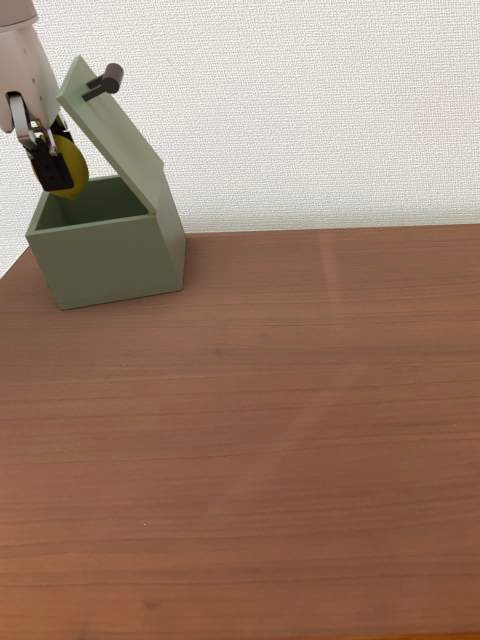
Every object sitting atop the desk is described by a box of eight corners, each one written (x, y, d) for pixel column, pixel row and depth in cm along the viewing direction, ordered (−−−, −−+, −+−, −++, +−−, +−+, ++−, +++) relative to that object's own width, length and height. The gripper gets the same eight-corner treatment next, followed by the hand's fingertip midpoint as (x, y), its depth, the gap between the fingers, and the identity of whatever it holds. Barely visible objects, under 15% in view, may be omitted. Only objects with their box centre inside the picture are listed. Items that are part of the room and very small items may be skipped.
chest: (60, 310, 97) (24, 235, 91) (76, 254, 107) (45, 184, 101) (182, 290, 100) (155, 216, 94) (186, 238, 110) (162, 167, 104)
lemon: (37, 206, 95) (6, 139, 90) (74, 186, 99) (47, 121, 94) (73, 213, 94) (44, 145, 88) (109, 192, 98) (83, 126, 92)
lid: (55, 98, 83) (98, 75, 83) (74, 57, 94) (112, 37, 93) (151, 214, 93) (189, 194, 93) (158, 166, 103) (193, 147, 103)
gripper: (-29, -8, 89) (41, 153, 100) (-72, 37, 76) (14, 215, 88) (46, -15, 90) (107, 145, 102) (16, 28, 77) (89, 205, 89)
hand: (63, 176), depth 95 cm, fingers closed on lemon, 5 cm apart
